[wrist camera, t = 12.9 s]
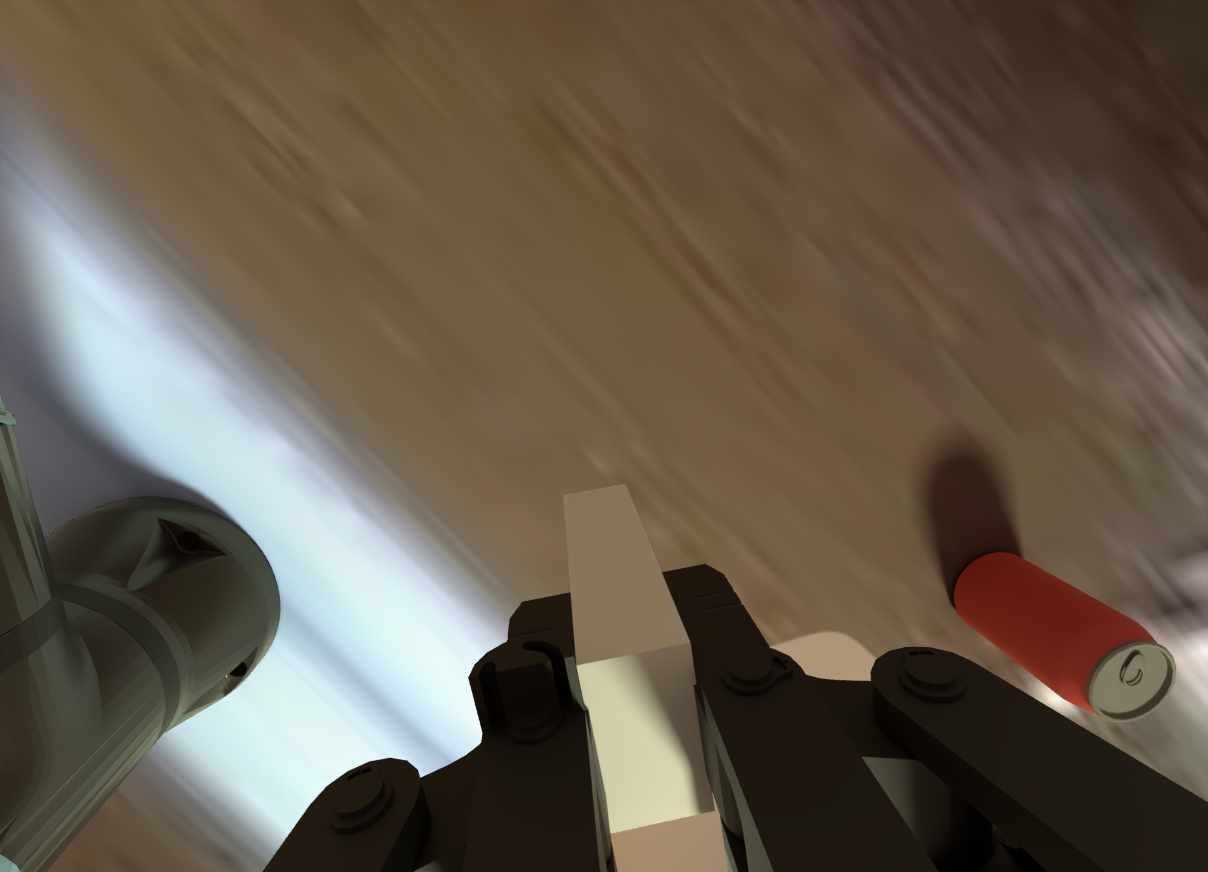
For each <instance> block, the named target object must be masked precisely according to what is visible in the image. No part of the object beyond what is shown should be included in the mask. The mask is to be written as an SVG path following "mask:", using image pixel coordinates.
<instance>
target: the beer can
mask: <svg viewBox="0 0 1208 872" xmlns="http://www.w3.org/2000/svg"><path fill="white" fill-rule="evenodd" d="M954 604H955V606H956V609H957V612H958V614H959V615H960V617H961V618H962V619H963V620H964V621H965V622H966V623H967V624H968V625H970V626H971V627H972V628H974V629H975V630H976V631H977V632H979V633H980V634H981V635H983V636H984V637H985V638H986V639H988V640H989V641H990V642H991V643H993V644H994V645H995V646H997V647H998V648H999V649H1000V650H1002V651H1003V652H1004V653H1005V654H1007V655H1008V656H1009V657H1011V658H1012V659H1013V660H1014V661H1016V662H1017V663H1018V664H1019V665H1021V666H1022V667H1023V668H1025V669H1026V670H1027V671H1028V672H1030V673H1031V674H1032V675H1033V676H1035V677H1036V678H1037V679H1039V680H1040V681H1041V682H1042V683H1044V684H1045V685H1046V686H1048V687H1049V688H1050V689H1051V690H1053V691H1054V692H1055V693H1056V694H1058V695H1059V696H1060V697H1062V698H1063V699H1065V700H1067V701H1069V702H1071V703H1072V704H1074V705H1077V706H1079V707H1081V708H1083V709H1085V710H1087V711H1090V712H1093V713H1096V714H1097V715H1098V716H1099V717H1102V718H1104V719H1106V720H1108V721H1110V722H1121V723H1123V722H1128V721H1133V720H1138V719H1140V718H1142V717H1144V716H1146V715H1148V714H1150V713H1151V712H1153V711H1154V710H1155V709H1156V708H1158V707H1159V706H1160V705H1161V704H1162V703H1163V702H1164V700H1165V699H1166V698H1167V696H1168V695H1169V694H1170V692H1171V689H1172V687H1173V685H1174V682H1175V675H1176V666H1175V662H1174V658H1173V656H1172V655H1171V654H1170V652H1169V651H1168V650H1167V649H1166V648H1165V647H1163V646H1161V645H1159V644H1158V643H1157V642H1156V641H1155V640H1154V639H1153V637H1152V636H1151V635H1150V634H1149V633H1148V632H1147V630H1146V629H1144V628H1143V627H1142V626H1141V625H1140V624H1139V623H1137V622H1136V621H1134V620H1132V619H1130V618H1129V617H1127V616H1125V615H1123V614H1121V613H1120V612H1118V611H1116V610H1114V609H1112V608H1111V607H1109V606H1107V605H1105V604H1103V603H1102V602H1100V601H1098V600H1096V599H1094V598H1093V597H1091V596H1089V595H1087V594H1085V593H1084V592H1082V591H1080V590H1078V589H1076V588H1075V587H1073V586H1071V585H1069V584H1067V583H1066V582H1064V581H1062V580H1060V579H1058V578H1057V577H1055V576H1053V575H1051V574H1049V573H1048V572H1046V571H1044V570H1042V569H1040V568H1039V567H1037V566H1035V565H1033V564H1031V563H1030V562H1028V561H1026V560H1024V559H1022V558H1021V557H1019V556H1017V555H1015V554H1012V553H1005V552H996V553H991V554H986V555H984V556H982V557H980V558H978V559H976V560H974V561H973V562H972V563H971V564H969V565H968V566H967V567H966V568H965V569H964V570H963V572H962V573H961V575H960V576H959V578H958V580H957V583H956V586H955V589H954Z"/></svg>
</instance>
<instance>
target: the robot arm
mask: <svg viewBox="0 0 1208 872" xmlns="http://www.w3.org/2000/svg"><path fill="white" fill-rule="evenodd" d="M14 425H17V424H16V419H15V417H14V415H13V414H12V413H10V412H8V411H7V410H6V408H5V405H4V403H3V400H2V398H1V395H0V872H46V871H47V870H48V869H49V868H50V867H51V865H52V864H53V863H54V862H55V861H56V859H57V858H58V857H59V856H60V855H61V854H62V852H63V851H64V850H65V849H66V848H67V846H68V845H69V844H70V843H71V842H72V841H73V839H74V838H75V837H76V836H77V835H78V833H79V832H80V831H81V830H82V829H83V828H84V826H85V825H86V824H87V823H88V822H89V820H90V819H91V818H92V817H93V816H94V815H95V813H96V812H97V811H98V810H99V809H100V807H101V806H102V805H103V804H104V803H105V801H106V800H107V799H108V798H109V797H110V796H111V794H112V793H113V792H114V791H115V790H116V788H117V787H118V786H119V785H120V784H121V783H122V781H123V780H124V779H125V778H126V777H127V775H128V774H129V773H130V772H131V771H132V770H133V768H134V767H135V766H136V765H137V764H138V762H139V761H140V760H141V759H142V758H143V757H144V755H145V754H146V753H147V752H148V751H149V749H150V748H151V747H152V746H153V745H154V744H155V743H156V741H157V740H158V739H159V738H160V737H161V736H162V735H163V733H165V732H167V731H168V730H170V729H172V728H173V727H175V726H177V725H178V724H180V723H182V722H184V721H185V720H187V719H189V718H190V717H192V716H194V715H195V714H197V713H199V712H201V711H202V710H204V709H206V708H207V707H209V706H211V705H212V704H214V703H216V702H217V701H219V700H221V699H222V698H224V697H225V696H227V695H228V694H230V693H231V692H232V691H234V690H235V689H236V688H237V687H238V686H239V685H240V684H241V683H243V682H244V680H245V679H246V678H247V677H248V676H249V675H250V674H251V672H252V671H253V670H254V669H255V667H256V666H257V665H258V664H259V662H260V661H261V660H262V658H263V657H264V656H265V654H266V653H267V651H268V650H269V648H270V646H271V645H272V643H273V640H274V638H275V635H276V632H277V629H278V625H279V619H280V596H279V591H278V586H277V583H276V579H275V577H274V574H273V572H272V570H271V568H270V566H269V564H268V562H267V560H266V559H265V557H264V556H263V554H262V553H261V551H260V550H259V549H258V547H257V546H256V545H255V544H254V543H253V542H252V541H251V539H250V538H249V537H247V536H246V535H245V534H244V533H243V532H242V531H241V530H240V529H238V528H237V527H236V526H234V525H233V524H232V523H230V522H229V521H227V520H226V519H224V518H223V517H221V516H219V515H217V514H215V513H213V512H211V511H209V510H207V509H204V508H202V507H199V506H197V505H194V504H190V503H187V502H183V501H179V500H173V499H167V498H155V497H142V498H131V499H125V500H120V501H116V502H112V503H109V504H106V505H104V506H101V507H99V508H97V509H94V510H92V511H90V512H88V513H86V514H84V515H82V516H80V517H78V518H76V519H73V520H71V521H70V522H68V523H66V524H64V525H63V526H61V527H60V528H58V529H57V530H55V531H54V532H53V533H51V534H50V535H49V536H48V537H47V538H45V539H44V536H43V532H42V529H41V526H40V523H39V519H38V516H37V513H36V510H35V506H34V503H33V499H32V496H31V492H30V489H29V485H28V481H27V478H26V474H25V470H24V467H23V463H22V460H21V456H20V452H19V449H18V445H17V442H16V438H15V434H14V431H13V427H12V426H14ZM563 499H564V512H565V525H566V538H567V551H568V564H569V577H570V590H571V592H570V593H565V594H560V595H555V596H549V597H544V598H539V599H534V600H529V601H524V602H522V603H521V604H520V606H519V607H518V608H517V610H516V611H515V612H514V614H513V615H512V616H511V618H510V620H509V629H508V640H507V642H505V643H503V644H501V645H499V646H498V647H496V648H494V649H492V650H491V651H489V652H487V653H486V654H485V655H484V656H483V657H482V658H481V659H480V660H479V661H478V662H477V663H476V664H475V665H474V667H473V669H472V671H471V673H470V675H469V677H468V679H469V683H470V686H471V690H472V694H473V698H474V702H475V706H476V710H477V714H478V718H479V721H480V725H481V729H482V733H483V734H482V741H481V743H480V744H479V745H478V746H477V747H476V748H474V749H473V750H472V751H471V752H469V753H468V754H467V755H465V756H464V757H462V758H460V759H458V760H456V761H455V762H453V763H451V764H449V765H447V766H445V767H443V768H441V769H438V770H436V771H434V772H432V773H430V774H428V775H425V776H423V777H421V778H420V775H419V772H418V769H416V768H415V767H414V766H413V765H412V764H410V763H409V762H408V761H407V760H401V759H395V758H386V759H381V760H375V761H370V762H367V763H365V764H363V765H361V766H358V767H356V768H354V769H352V770H349V771H347V772H346V773H345V774H343V775H342V776H340V777H339V778H338V779H336V780H335V781H333V782H332V783H331V784H329V785H328V786H327V787H326V788H325V789H324V790H323V791H322V792H321V793H320V794H319V795H318V797H317V798H316V799H315V800H314V801H313V802H312V803H311V804H310V806H309V807H308V808H307V810H306V811H305V813H304V814H303V815H302V817H301V818H300V820H299V821H298V822H297V824H296V825H295V827H294V828H293V829H292V831H291V832H290V834H289V835H288V837H287V838H286V839H285V841H284V842H283V844H282V845H281V846H280V848H279V849H278V851H277V852H276V853H275V855H274V856H273V858H272V859H271V860H270V862H269V863H268V865H267V866H266V867H265V869H264V870H263V872H617V867H616V862H615V857H614V852H613V847H612V842H611V834H610V833H615V832H620V831H624V830H629V829H633V828H638V827H642V826H647V825H652V824H656V823H661V822H665V821H670V820H674V819H679V818H684V817H688V816H693V815H697V814H701V813H706V812H710V811H714V810H715V809H714V802H713V796H712V792H713V795H714V798H715V801H716V804H717V807H718V810H719V813H720V818H721V824H722V832H723V839H724V845H725V852H726V859H727V866H728V872H1208V802H1207V801H1205V800H1203V799H1202V798H1200V797H1198V796H1197V795H1195V794H1193V793H1192V792H1190V791H1188V790H1187V789H1185V788H1183V787H1181V786H1180V785H1178V784H1176V783H1175V782H1173V781H1171V780H1170V779H1168V778H1166V777H1165V776H1163V775H1161V774H1160V773H1158V772H1156V771H1155V770H1153V769H1151V768H1150V767H1148V766H1146V765H1145V764H1143V763H1141V762H1140V761H1138V760H1136V759H1135V758H1133V757H1131V756H1130V755H1128V754H1126V753H1125V752H1123V751H1121V750H1120V749H1118V748H1116V747H1115V746H1113V745H1111V744H1110V743H1108V742H1106V741H1105V740H1103V739H1101V738H1100V737H1098V736H1096V735H1095V734H1093V733H1091V732H1090V731H1088V730H1086V729H1085V728H1083V727H1081V726H1080V725H1078V724H1076V723H1075V722H1073V721H1071V720H1070V719H1068V718H1066V717H1065V716H1063V715H1061V714H1060V713H1058V712H1056V711H1055V710H1053V709H1051V708H1050V707H1048V706H1046V705H1045V704H1043V703H1041V702H1040V701H1038V700H1036V699H1035V698H1033V697H1031V696H1030V695H1028V694H1026V693H1025V692H1023V691H1021V690H1019V689H1018V688H1016V687H1014V686H1013V685H1011V684H1009V683H1008V682H1006V681H1004V680H1003V679H1001V678H999V677H998V676H996V675H994V674H993V673H991V672H989V671H988V670H986V669H984V668H983V667H981V666H979V665H978V664H976V663H974V662H973V661H970V660H968V659H966V658H964V657H962V656H959V655H957V654H955V653H953V652H949V651H944V650H940V649H935V648H931V647H904V648H900V649H896V650H891V651H888V652H887V653H885V654H884V655H882V656H881V657H879V658H878V659H876V660H875V663H874V665H873V667H872V670H871V681H849V680H848V681H847V680H830V679H821V678H816V677H813V676H809V675H806V674H805V673H804V671H803V669H802V668H801V667H800V666H799V665H798V664H797V663H796V662H795V661H794V660H793V659H792V658H791V657H790V656H788V655H786V654H784V653H782V652H779V651H777V650H775V649H773V648H770V647H769V645H768V644H767V642H766V640H765V639H764V637H763V636H762V634H761V632H760V631H759V629H758V628H757V626H756V625H755V623H754V621H753V620H752V618H751V617H750V615H749V613H748V612H747V610H746V609H745V607H744V605H742V604H741V601H740V599H739V598H738V596H737V594H736V593H735V592H734V591H733V588H732V586H731V585H730V583H729V582H728V580H727V578H726V577H725V575H724V574H722V573H721V572H719V571H717V570H715V569H714V568H712V567H710V566H708V565H707V564H702V565H697V566H692V567H687V568H682V569H676V570H671V571H666V572H661V570H660V567H659V565H658V562H657V560H656V557H655V555H654V553H653V550H652V548H651V545H650V543H649V540H648V538H647V536H646V533H645V531H644V528H643V526H642V523H641V521H640V518H639V516H638V514H637V511H636V509H635V506H634V504H633V501H632V499H631V497H630V494H629V492H628V489H627V487H626V484H621V485H616V486H611V487H605V488H600V489H595V490H589V491H584V492H579V493H573V494H568V495H563Z"/></svg>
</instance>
